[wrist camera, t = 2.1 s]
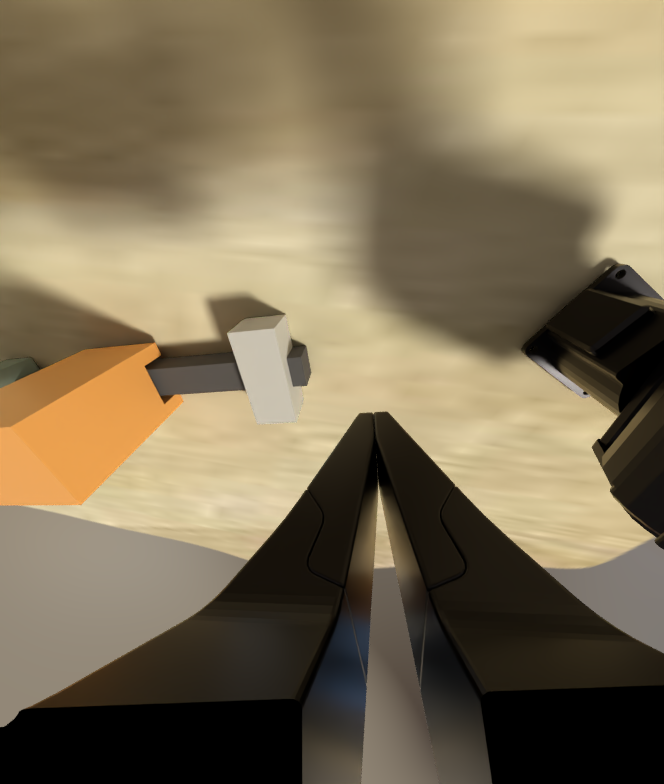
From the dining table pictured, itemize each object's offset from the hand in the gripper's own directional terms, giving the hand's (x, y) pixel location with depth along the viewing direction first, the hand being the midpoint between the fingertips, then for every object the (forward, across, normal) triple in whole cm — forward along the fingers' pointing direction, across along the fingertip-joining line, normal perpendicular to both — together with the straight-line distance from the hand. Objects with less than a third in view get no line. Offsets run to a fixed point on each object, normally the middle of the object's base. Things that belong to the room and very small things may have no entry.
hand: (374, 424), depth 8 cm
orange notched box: (+12, +18, +3) cm, 22 cm away
